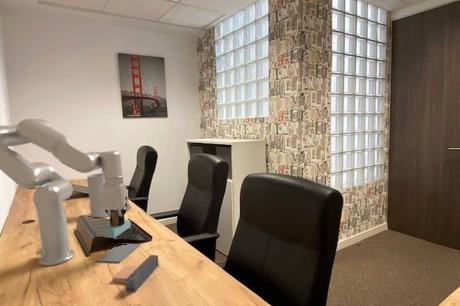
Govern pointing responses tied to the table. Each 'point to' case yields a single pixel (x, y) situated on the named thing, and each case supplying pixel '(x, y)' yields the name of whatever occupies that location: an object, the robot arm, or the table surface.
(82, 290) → the table surface
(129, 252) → the mat
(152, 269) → the bar
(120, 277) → the terracotta tile
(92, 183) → the cylinder vase
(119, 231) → the push block
